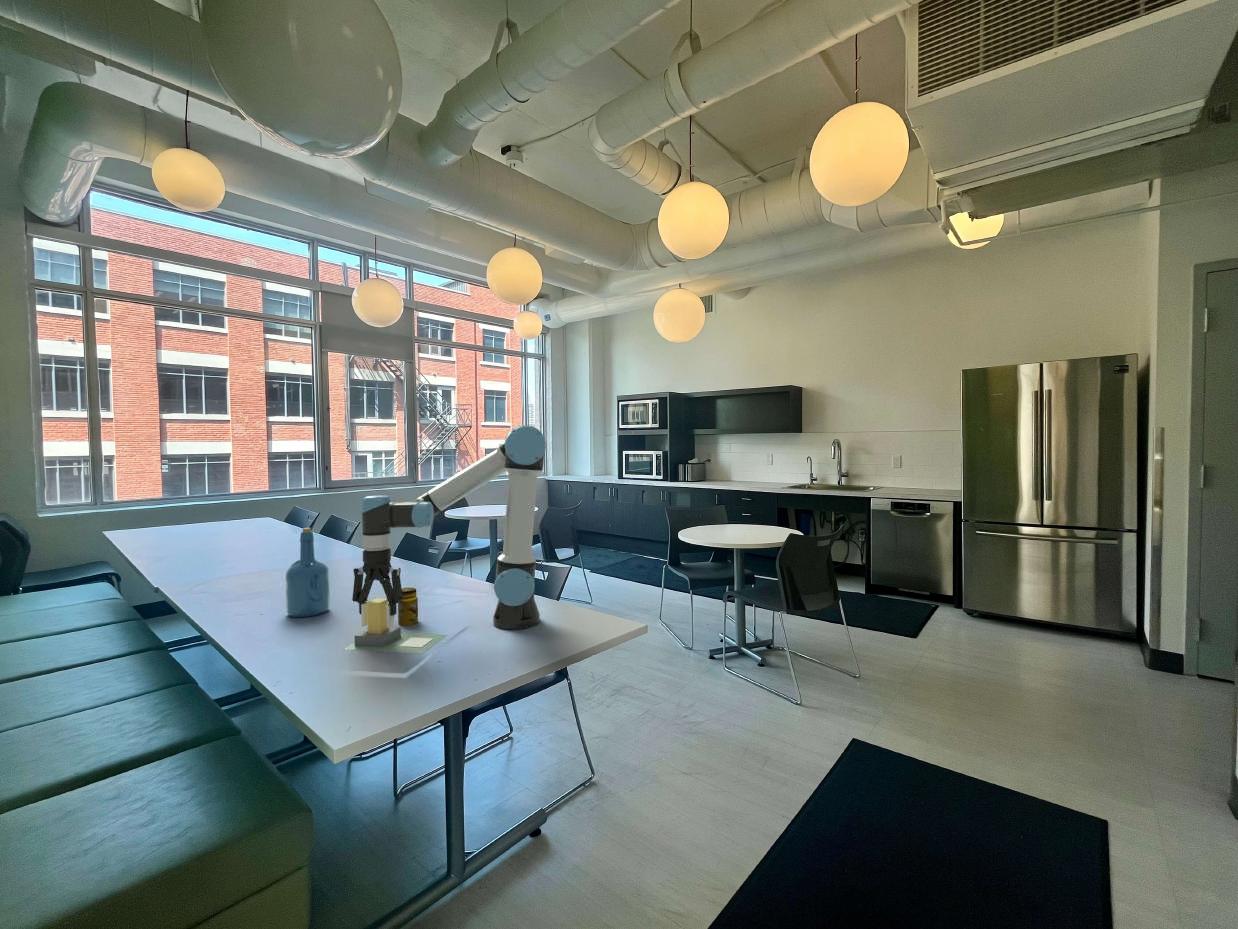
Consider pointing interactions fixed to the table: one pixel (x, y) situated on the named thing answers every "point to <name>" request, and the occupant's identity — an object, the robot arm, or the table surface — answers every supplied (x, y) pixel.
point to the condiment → (408, 607)
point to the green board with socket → (394, 641)
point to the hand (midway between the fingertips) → (378, 625)
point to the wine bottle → (307, 582)
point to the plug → (377, 616)
